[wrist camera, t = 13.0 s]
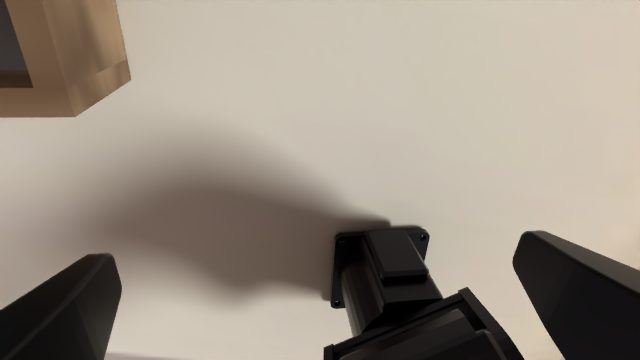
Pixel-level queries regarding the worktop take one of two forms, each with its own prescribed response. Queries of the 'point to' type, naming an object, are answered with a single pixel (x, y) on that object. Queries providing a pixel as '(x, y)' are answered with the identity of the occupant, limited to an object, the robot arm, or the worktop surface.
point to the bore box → (59, 56)
